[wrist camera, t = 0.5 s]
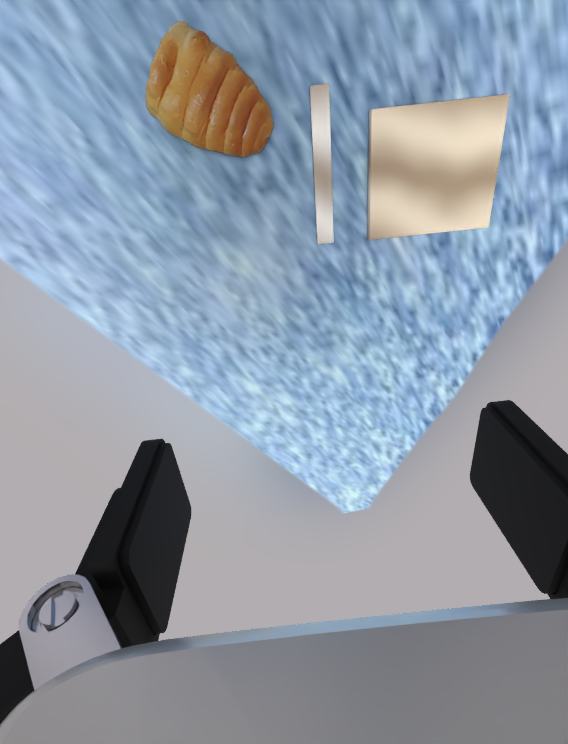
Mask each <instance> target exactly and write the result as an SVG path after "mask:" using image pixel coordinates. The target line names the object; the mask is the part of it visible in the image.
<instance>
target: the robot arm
mask: <svg viewBox="0 0 568 744" xmlns="http://www.w3.org/2000/svg"><path fill="white" fill-rule="evenodd" d="M470 480H471V484H472V486H473V488H474V489H475V491H476V492H477V494H478V496H479V497H480V498H481V500H482V502H483V503H484V505H485V506H486V508H487V509H488V511H489V513H490V514H491V516H492V517H493V519H494V521H495V522H496V524H497V525H498V527H499V528H500V529H501V532H502V533H503V535H504V536H505V538H506V539H507V541H508V542H509V544H510V546H511V547H512V549H513V550H514V552H515V553H516V555H517V556H518V558H519V560H520V561H521V563H522V564H523V565H524V567H525V569H526V570H527V572H528V574H529V575H530V577H531V578H532V580H533V581H534V583H535V585H536V586H537V587H538V589H539V590H540V591H541V592H542V593H544V594H545V593H547V594H548V595H549V597H550V599H548V600H535V601H526V602H514V603H504V604H494V605H483V606H473V607H463V608H452V609H442V610H432V611H422V612H413V613H403V614H393V615H384V616H373V617H365V618H354V619H344V620H335V621H325V622H316V623H306V624H297V625H288V626H279V627H269V628H260V629H252V630H242V631H232V632H224V633H216V634H208V635H200V636H193V637H184V638H176V639H168V640H162V641H158V639H159V634H160V633H164V632H165V631H166V629H167V625H168V621H169V616H170V612H171V607H172V602H173V598H174V593H175V588H176V583H177V579H178V575H179V569H180V565H181V561H182V555H183V551H184V547H185V542H186V537H187V533H188V528H189V523H190V519H191V506H190V502H189V499H188V496H187V493H186V490H185V487H184V483H183V480H182V477H181V474H180V471H179V468H178V465H177V461H176V458H175V455H174V452H173V449H172V446H171V444H170V443H165V441H164V440H163V439H156V440H147V441H143V442H142V443H141V445H140V447H139V449H138V451H137V453H136V456H135V458H134V460H133V462H132V465H131V467H130V469H129V471H128V473H127V476H126V478H125V480H124V482H123V485H122V487H121V488H118V489H117V490H115V492H114V493H113V495H112V497H111V499H110V501H109V503H108V505H107V507H106V509H105V512H104V514H103V516H102V518H101V520H100V522H99V524H98V527H97V529H96V531H95V533H94V535H93V537H92V539H91V541H90V544H89V546H88V548H87V550H86V552H85V554H84V556H83V559H82V561H81V563H80V565H79V567H78V569H77V571H76V573H75V575H67V576H63V577H59V578H57V579H55V580H54V581H51V582H50V583H48V584H47V585H45V586H44V587H43V588H41V589H40V590H39V591H38V592H37V593H36V594H35V595H34V596H33V597H32V598H31V599H30V600H29V602H28V603H27V605H26V606H25V608H24V610H23V611H22V614H21V617H20V620H19V631H17V632H16V633H15V634H14V635H12V636H11V637H9V638H8V639H7V640H6V641H4V642H3V643H1V644H0V744H568V454H567V453H566V452H565V451H564V450H563V449H562V448H560V446H558V445H557V444H556V443H555V442H554V441H553V440H552V439H551V438H550V437H549V436H548V435H547V434H546V433H545V432H544V431H543V430H542V429H541V428H540V427H539V426H538V425H537V424H535V422H534V421H532V420H531V419H530V418H529V417H528V416H527V415H526V414H525V413H524V412H523V411H522V410H521V409H520V408H519V407H518V406H517V405H516V404H515V403H514V402H512V401H510V400H506V401H498V402H490V403H488V404H487V406H486V408H483V409H482V410H481V414H480V420H479V426H478V431H477V437H476V443H475V448H474V455H473V460H472V466H471V471H470Z"/></svg>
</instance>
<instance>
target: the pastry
mask: <svg viewBox="0 0 568 744" xmlns="http://www.w3.org/2000/svg"><path fill="white" fill-rule="evenodd" d="M145 96H146V106H147V109H148V111H149V112H150V113H151V114H152V115H153V116H154V117H156V118H157V119H158V120H159V122H160V123H161V124H162V126H163V127H164V128H165V129H166V130H167V131H168V132H169V133H171V134H172V135H174V136H177V137H180V138H182V139H183V140H185V141H187V142H189V143H191V144H192V145H194V146H195V147H198V148H204V149H206V150H211V151H217V152H220V153H225V154H227V155H233V156H239V157H246V156H248V155H252V154H256V153H259V152H261V151H262V150H263V148H264V146H265V145H266V143H267V141H268V138H269V136H270V135H271V133H272V130H273V121H272V116H271V109H270V106H269V104H268V103H267V102H266V101H265V99H264V98H263V97H262V96H261V94H260V92H259V90H258V88H257V86H256V85H255V83H254V82H253V80H252V79H251V78H250V77H249V76H248V75H247V74H246V73H245V72H244V71H243V70H242V69H241V68H240V67H239V65H238V64H237V61H236V59H235V58H234V56H233V54H231V53H229V52H226V51H224V50H222V49H221V48H220V47H218V46H217V45H215V44H214V43H212V42H211V41H210V39H209V37H208V36H207V35H206V34H205V33H204V32H202V31H197V30H194V29H192V28H191V27H190V26H189V25H188V24H187V23H186V22H184V21H177V22H175V23H174V24H173V25H172V26H170V28H169V29H168V32H167V33H166V34H165V36H164V37H163V38H162V40H161V43H160V45H159V47H158V49H157V51H156V54H155V57H154V59H153V61H152V63H151V67H150V76H149V79H148V81H147V87H146V95H145Z"/></svg>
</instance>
